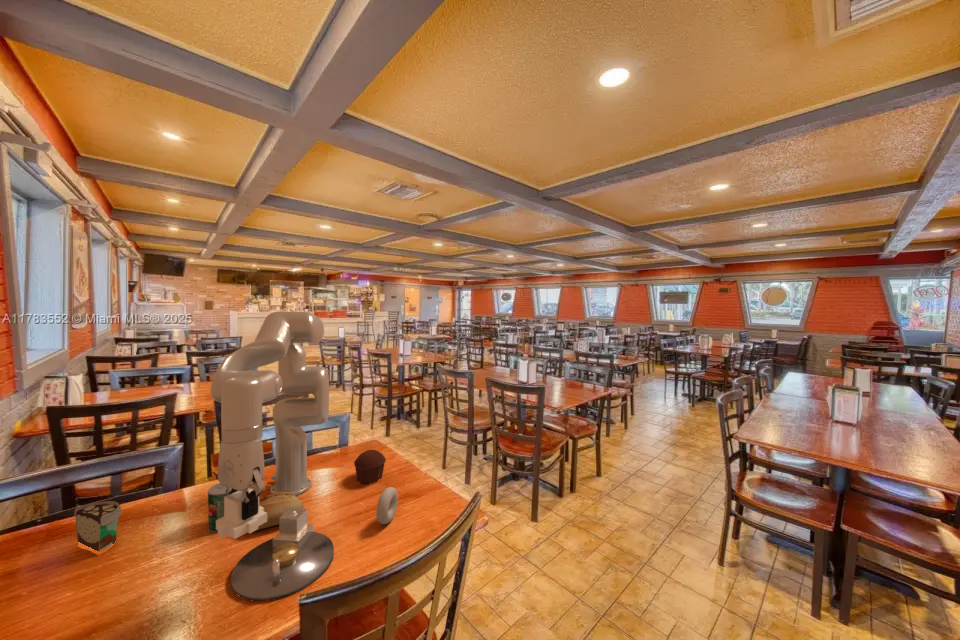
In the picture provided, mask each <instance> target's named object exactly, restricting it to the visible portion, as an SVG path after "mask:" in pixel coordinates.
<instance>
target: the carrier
mask: <svg viewBox="0 0 960 640" xmlns="http://www.w3.org/2000/svg"><path fill="white" fill-rule="evenodd" d="M278 528H279V529H278V530H279V531H278V533H277V535H275V536H274V537H273V538H270V539H267V540H266V541H263V542H262V543H260V544H258V545H256V546H255V547H254V548H251V550H250V551H248V552H247V553H246V554H244V555H243V556H242V557H241V558H240V559H239V561H238V562H237V563H236V564H235V566H234V568H233V569H232V572H231V576H230V584H231V586H232V587H231V590H232V589H233V590H232V592H233V591H234V592H235V593H236V594H237V595H239V596H240V597H242V598H244V599H247V600H246V601H248V600H253V601H252V602H255V601H263V602H267V601H266V600H271V601H274V600H273V599H276V600H279V598H280V599H283V598H286V597H289V596H292V595H294V594H297V593H299V592H300V591H302V590H304V589H306V588H308V587H310V586H311V585H313V584H314V583H315V582H317V581H318V580H319V579H320V578H321V577H322V576H323V575H324V574H325V573H326V572H327V570H329V568H330V566H331V564H332V562H333V559H334V552H335V549H334V548H335V547H334V543H333V541H332V539H330V538H329V536H327V535H325V534H323V533H320V532H318V531H314V524H309V523H308V508H304V509H299V508H290V509H289V510H288V511H287V512H286V513H285V514H284V515H282V516H281V517H280V518H279V526H278ZM234 592H233V593H234ZM296 592H297V593H296ZM235 593H234V594H235ZM236 594H235V595H236ZM237 595H236V596H237ZM240 597H239V598H240ZM242 598H241V599H242ZM244 599H243V600H244Z"/></svg>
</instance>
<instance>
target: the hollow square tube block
mask: <svg viewBox="0 0 960 640" xmlns="http://www.w3.org/2000/svg"><path fill="white" fill-rule="evenodd" d="M251 491H253V488H250V489H248V493H250V492H251ZM259 501H260V496H259V497H258V513H257V514H256V515H254V516H252V517H250V518H248V519H246V520H242V502H244V498H243V492H242V491H237V492H235V493H232V494H230V495H228V496H225V497H224V517H222V518H220V519H218V520H216V530H218V533H217V536H218V537H221V538H225V537H229V538H231V539H233V540H235V539H238V538H240V537H241V536H243V535H245V534H247V533H248V534H252V533H253V532H255V531H258V530H257V529H258V526H260V525H262V524H264V523H265V522H267V513H266V512H264V508H263V507H261V506H259Z"/></svg>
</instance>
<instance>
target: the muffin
mask: <svg viewBox="0 0 960 640" xmlns="http://www.w3.org/2000/svg"><path fill="white" fill-rule="evenodd" d="M386 461H387V459H386V457H385V456H384V454H383V453H382V452H380V451H379V450H376V449H368V450H365V451H363V452H362V453H360V454H359V455H358V456H357V458H356V459H354V462H353V464H354V467H355V473H356V480H357V483H359V482H360V484H361V483H362V484H361V485H371V484H370V483H372V484H374V483H373V482H377V481H378V480H379V479H381V478H382V479H383V474H384V468H385V463H386ZM382 479H381V480H382ZM379 481H380V480H379ZM379 481H378V482H379ZM378 482H377V483H378Z"/></svg>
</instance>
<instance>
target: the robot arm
mask: <svg viewBox="0 0 960 640" xmlns="http://www.w3.org/2000/svg"><path fill="white" fill-rule="evenodd" d="M262 322H263V323H262V325H261V327H260V329H259V331H258V333H257V335H256V336H255V339H254V341H252V342H250V343H248V344H246V345H244V346H242V347H240V348H238V349H237V350H235V351H233V352H232V353H230V354H228V355H227V356H226V357H225V358H224V359H223V360H222V361H221V363H220V365H219V366H218V368H217V370H216V372H215V373H214V376H213V378H212V380H211V383H210V395H211V397H212V399H213V400H214V401H215V402H218V403H220V406H221V409H220V410H221V413H220V414H221V416H220V417H221V418H220V419H221V420H220V421H221V424H220V425H221V441H220V445H219V452H218V460H217V461H218V463H217V464H218V465H217V480H218V483H222V484H224V485H225V486H226V494H227V496H228V494H229V495H230V494H232V493H235V492H237V491H242V492H243V498H244V502H242V520H246V519H248V518H250V517H252V516H254V515H256V514H257V513H258V497H259V498H260V496H261V494H262V493H263V491H265V490H266V485H265V482H264V481H265V480H264V479H265V455H264V447H263V441H262V438H263V404H265V403H267V402H271V401H273V400H274V399H276V398H277V397H278V396H279V395H280V393H281V394H283V395H291V396H292V395H294V396H295V395H296V396H297V395H313V396H311V397H289V398H284V399H280V400H278V401H277V402H276V403H275V404H274V405H273V407H272V421H273V424H274V425H273V426H274V431H275V432H274V433H275V471H274V474H272V475H271V476H270V478H271V480H274V484H272V486H271V487H270V488H269V489H270V495H271V494H274V493H279V492H290V493H293V494H295V495H296V496H298V495H301V494H303V493H305V492H306V491H308V490H309V489H310V488H311V486H312V480H311V478H309V477H307V476H308V474H307V469H308V468H307V467H308V466H307V462H308V460H307V459H308V458H307V457H308V455H307V454H308V450H307V447H308V445H307V444H308V438H307V434H306V432H305V430H304V429H303V428H302V427H303V426H317V425H323V424H325V423H326V422H327V421H328V418H329V415H330V412H329V411H330V377H329V372H328V370H327V369H326V368H325V367H323V366H318V365H317V366H307V352H306V350H305V348H304V347H303V346H302V344H318V343H320V342H321V341H322V340H323V338H324V335H325V326H324V323H323V321H322V320H321V318H320V317H319V316H317V315H316V314H314V313H313V312H309V311H285V310H283V311H274V312H271V313H269V314H268V315H267V316H266V317H265V319H264V320H263V321H262ZM276 362H278V363H277V364H278V366H277V370H278V371H277V372H276V371H274V370H267V369H266V370H254V369H258V368H260V367H265V366H268V365H270V364H273V363H276ZM248 489H252V490H253V491H251V492H250V493H248Z"/></svg>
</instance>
